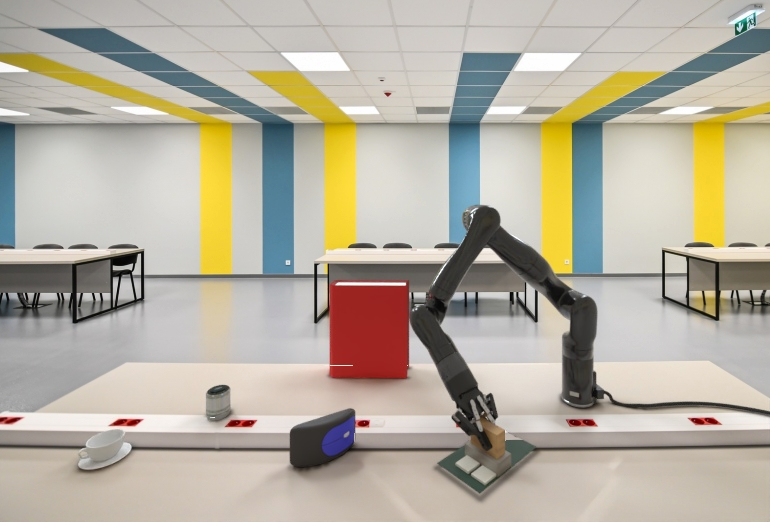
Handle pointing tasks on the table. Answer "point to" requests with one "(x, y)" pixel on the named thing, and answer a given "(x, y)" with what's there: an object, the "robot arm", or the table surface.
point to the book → (369, 328)
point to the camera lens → (218, 402)
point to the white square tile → (467, 464)
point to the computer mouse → (322, 438)
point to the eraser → (497, 455)
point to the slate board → (512, 446)
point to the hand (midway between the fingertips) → (494, 445)
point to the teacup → (104, 449)
